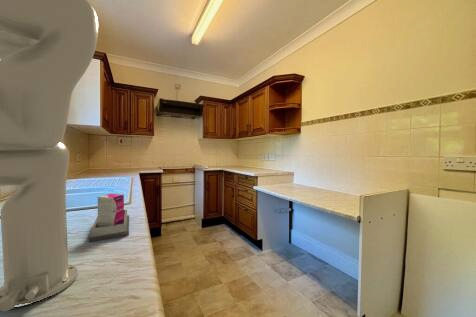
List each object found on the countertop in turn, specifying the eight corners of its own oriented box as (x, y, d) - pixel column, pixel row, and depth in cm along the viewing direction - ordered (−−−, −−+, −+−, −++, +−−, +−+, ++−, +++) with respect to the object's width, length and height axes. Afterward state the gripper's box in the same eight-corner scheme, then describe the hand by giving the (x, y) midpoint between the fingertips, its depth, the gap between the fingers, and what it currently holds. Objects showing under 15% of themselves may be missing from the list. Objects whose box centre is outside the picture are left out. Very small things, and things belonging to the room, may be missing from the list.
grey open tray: (128, 235, 68) (128, 213, 68) (88, 242, 63) (88, 218, 62) (129, 218, 84) (128, 201, 83) (97, 223, 79) (96, 204, 78)
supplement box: (112, 231, 67) (111, 197, 67) (97, 230, 68) (96, 197, 68) (125, 225, 73) (124, 193, 72) (110, 224, 74) (109, 193, 73)
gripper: (-32, 82, 49) (-27, 152, 49) (61, 91, 57) (63, 152, 58) (-12, 90, 55) (-9, 152, 56) (68, 97, 63) (70, 151, 64)
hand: (28, 152), depth 57 cm, fingers open, 9 cm apart
